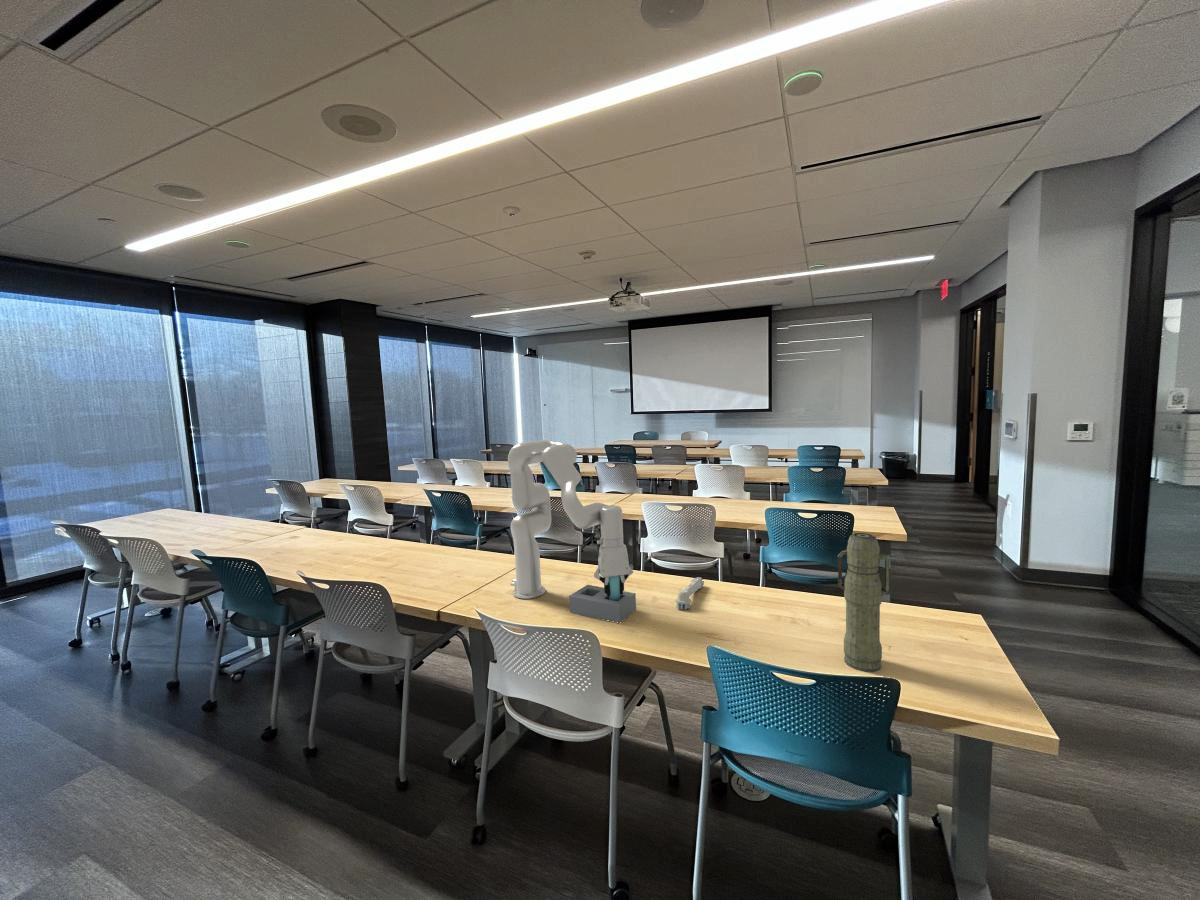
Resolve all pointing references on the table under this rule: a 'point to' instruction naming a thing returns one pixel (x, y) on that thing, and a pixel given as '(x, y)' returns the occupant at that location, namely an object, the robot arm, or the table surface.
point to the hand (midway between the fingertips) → (614, 593)
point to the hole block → (601, 604)
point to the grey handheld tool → (688, 593)
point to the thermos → (863, 601)
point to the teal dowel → (614, 588)
